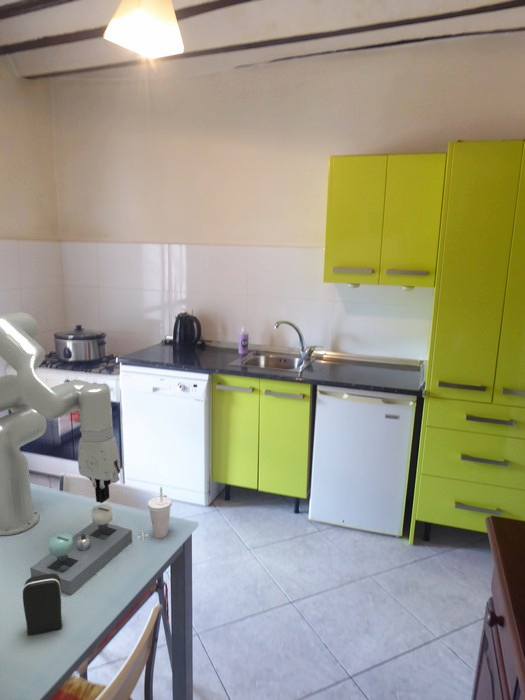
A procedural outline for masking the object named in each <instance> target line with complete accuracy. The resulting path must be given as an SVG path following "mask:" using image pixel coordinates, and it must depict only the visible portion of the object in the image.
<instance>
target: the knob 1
mask: <svg viewBox="0 0 525 700" xmlns="http://www.w3.org/2000/svg"><path fill="white" fill-rule="evenodd" d="M72 537H73V534H72V533H70V532H65V531H62V532H58V533H55V534H54V535H52V536H51V537H50V538H49V540H48V541H49V543H48V545H49V554H51V555H52V556H57V561H58V562H64V561H66V560H67V559H68V553H70V552H71V551H72V550H73V540H72Z"/></svg>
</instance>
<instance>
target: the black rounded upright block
mask: <svg viewBox="0 0 525 700" xmlns="http://www.w3.org/2000/svg"><path fill="white" fill-rule="evenodd" d="M62 593H63V592H61V582H60V577H59V576H58V575H57V574H54V573H52V574H45V575H40V576H35V577H31V576H30V577H29V578H28V579H27V580H26V581H25V583H24V585H23V588H22V603H23V610H24V611H23V612H24V617H25V622H26V632H27V635H29V636H30V635H37V634H42V633H47V632H51V631H54V630H55V631H56V630H59V629H62V627H63V626H64V623H63V622H64V621H63V612H62V610H63V609H62V608H63V606H62Z"/></svg>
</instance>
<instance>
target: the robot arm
mask: <svg viewBox="0 0 525 700" xmlns="http://www.w3.org/2000/svg"><path fill="white" fill-rule="evenodd" d="M38 334H39V325H38V322H37V321H36V319H35V318H34V317H33V316H32V315H30V314H29V313H26V312H23V311H17V312H10V313H9V312H7V313H0V357H1V358H2V359H3V360H4V361H5V362H6V363H7V364H8V365H9V366H10V367H12V368H13V369H14V370H15V372H16V374H6V375H2V376H0V413H3V412H5V411H8V410H9V411H10V412H11V413H9V414H6V415H3V416H0V536H11V535H16V534H20V533H23V532H25V531H27V530H30V529H31V528H33V527H34V526H35V525H36V524H37V523H38V522H39V520H40V513H39V511H38V510H36V509H34V508H33V502H32V499H33V498H32V491H31V490H32V489H31V480H30V470H29V469H30V468H29V462H28V459H27V456H25V455H24V454H23V453H22V452H21V449H20V448H21V447H23V446H25V445H27V444H29V443H31V442H33V441H35V440H37V439H39V438H40V437H42V436H43V435H44V434H45V432H46V430H47V428H48V427H47V425H48V424H47V419H50V420H57V419H59V418H63V417H64V416H67V415H70V414H71V413H73V412H76V411H79V419H80V427H79V431H80V432H81V437H80V438H79V442H78V447H77V449H78V450H77V460H78V461H77V465H78V473H79V474H80V475H81V476H83V477H85V478H87V479H89V480H90V482H91V484H92V487H93V488H94V489H95V490H94V492H95V502H97V503H99V504H104V502H105V501H107V500H109V499H110V487H109V486H110V485H111V484H115V483H117V482H119V481H120V476H119V474H121V473H120V472H121V459H120V454H119V452H120V451H119V449H118V448H119V447H118V443H117V439H116V437H115V436H114V428H113V427H114V426H113V413H112V412H113V411H112V399H111V397H112V395H111V388H110V387H109V386H108V385H107V384H103V383H91V382H88V381H84V380H82V379H81V380H80V379H74V380H69V381H67V382H66V381H65V382H64V383H60V384H57V385H55V386H52V387H49V386H48V385H47V384H45V382H43V381H42V380H41V379H40V377H39V376H38V374H37V373H36V370H37V369H38V367H40V366H41V365H42V363H43V361H44V360H45V357H46V350H45V348H43V346H42V345H41V344H40V343H38V342H37V341H36V340H35V339H36V338H37V337H38Z"/></svg>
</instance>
